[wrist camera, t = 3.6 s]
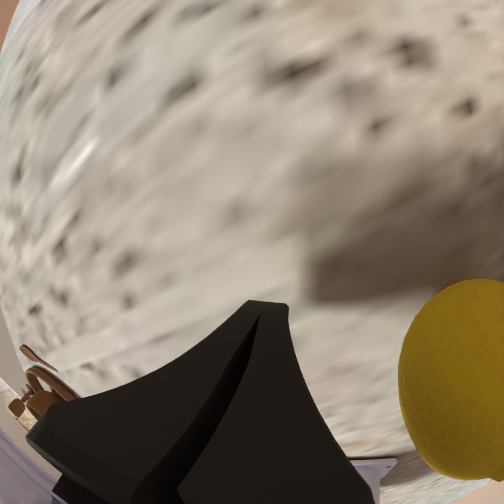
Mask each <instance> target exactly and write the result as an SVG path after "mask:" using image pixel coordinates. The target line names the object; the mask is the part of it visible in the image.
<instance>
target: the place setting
mask: <svg viewBox="0 0 504 504" xmlns="http://www.w3.org/2000/svg"><path fill="white" fill-rule="evenodd" d="M19 349H20V351H21V352H22V353H23V354H24V355H25V356H27V357H28V358H29V359H30V360H32V361H35V362H40V363H41V364H43V365H45V366H47V367H49V368H50V369H52V370H54V371H56V372H58V371H57V369H55V368H54V367H52V366H51V365H49V364H47V363H45V362H44V361H42V360H40V359H39V358H38V357H37V356H36V355H35V354H34V353H33V352H32V351H31V350H30V349H29V348H28V347H25V346H20V348H19ZM25 375H26V378H27V380H28V382H29V384H30V386H31V387H32V388H31V387H30V386H29V385H28V384H26V387H27V388H28V393H25V394H24V397H23V398H21V400H22V401H21V400H20V399H14V400H13V401H12V402H11V403H10V404H9V406H8V408H9V409H10V410H11V411H12V412H13V413H14V414H15V416H17V417H18V418H19V417H20V416H21V415H22V413H23V412H24V410H25V405H24V403H25V402H26V400H28V399H29V398H30V395H33V396H32V397H31V398H30V399H29V400H28V401H27V403H26V407H27V408H28V410H29V411H30V412H31V414H32V415H33V416H34V417H35V418H36V419H37V420H39V419H40V417H41V416H42V415H43V414H44V412H45V411H46V410H47V409H48V408H49V406H50V405H51V404H55V403H61V402H66V401H71V400H76V399H78V398H77V397H75V396H74V395H73V394H72V393H71V392H70V391H69V390H68V389H67V388H66V387H65V386H63V385H62V384H61V383H60V382H59V381H57V380H56V379H55V378H54V377H52V376H51V375H50V374H48V373H47V372H45V371H44V370H42V369H40V368H37V367H32V368H29V369H28V370H27V371H26V372H25ZM36 376H37V377H39V378H40V379H42V380H43V381H44V382H46V383H47V384H48V385H49V386H50V387H52V388H53V389H54V390H55V391H56V392H55V391H53V392H48V391H45V390H43V388H42V387H41V385H40V383H39V382H38V380H37V377H36ZM33 390H34V391H33ZM23 402H24V403H23Z"/></svg>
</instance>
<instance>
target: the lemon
mask: <svg viewBox="0 0 504 504" xmlns="http://www.w3.org/2000/svg"><path fill="white" fill-rule="evenodd" d="M398 387H399V401H400V407H401V412H402V416H403V419H404V422H405V425H406V427H407V430H408V433H409V435H410V437H411V439H412V441H413V443H414V445H415V447H416V448H417V450H418V452H419V454H420V456H421V457H422V458H423V460H424V461H425V462H426V464H427V465H429V466H430V467H431V468H432V469H433V470H435V471H437V472H438V473H440V474H442V475H445V476H448V477H451V478H454V479H459V480H478V479H485V478H491V479H493V480H496V481H498V482H500V481H503V480H504V283H502V282H500V281H496V280H490V279H484V278H475V279H469V280H463V281H460V282H457V283H455V284H453V285H450V286H448V287H446V288H445V289H443V290H442V291H440V292H439V293H437V294H435V295H434V296H433V297H432V298H431V299H430V300H429V301H428V302H427V303H426V304H425V305H424V306H423V308H422V309H421V310H420V312H419V313H418V314H417V316H416V317H415V318H414V320H413V322H412V324H411V326H410V328H409V330H408V332H407V334H406V336H405V338H404V342H403V346H402V350H401V354H400V358H399V365H398Z"/></svg>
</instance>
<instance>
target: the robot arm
mask: <svg viewBox="0 0 504 504" xmlns="http://www.w3.org/2000/svg"><path fill="white" fill-rule="evenodd" d="M288 314H289V307H288V305H287V304H285V303H274V302H264V301H254V300H248V301H247V302H245V303H244V304H243V305H242V306H241V307H240V308H239V309H238V310H237V311H236V312H235V313H234V314H233V315H231V316H230V317H229V318H228V319H227V320H226V321H225V322H224V323H223V324H221V325H220V326H219V327H218V328H217V329H216V330H214V331H213V332H212V333H211V334H210V335H208V336H207V337H206V338H205V339H203V340H202V341H201V342H199V343H198V344H197V345H195V346H194V347H193V348H191V349H190V350H188V351H187V352H186V353H184V354H183V355H181V356H180V357H178V358H176V359H175V360H173V361H172V362H170V363H168V364H166V365H165V366H163V367H161V368H159V369H157V370H156V371H153V372H151V373H149V374H147V375H145V376H143V377H141V378H139V379H136V380H134V381H132V382H130V383H127V384H125V385H122V386H120V387H117V388H114V389H111V390H108V391H105V392H102V393H99V394H96V395H92V396H89V397H85V398H80V399H76V400H71V401H66V402H61V403H55V404H51V405H50V406H49V408H48V409H47V410H46V411H45V412H44V414H43V415H42V416H41V417H40V419H39V420H38V421H37V422H36V424H35V425H34V426H33V427H32V429H31V430H30V431H29V432H28V434H27V435H26V441H27V442H28V444H30V446H31V447H32V448H33V449H35V450H36V451H37V452H38V453H39V454H40V455H41V456H42V457H43V458H44V459H46V460H47V461H48V462H49V463H50V464H51V465H53V466H54V467H55V468H56V469H57V470H59V471H60V472H61V473H62V476H61V477H60V479H59V480H58V479H57V478H55V477H54V476H53V475H51V474H50V473H49V472H48V471H46V470H45V469H44V468H43V467H42V466H40V465H39V464H38V463H37V462H36V461H34V460H33V459H32V458H31V457H30V456H29V455H28V454H27V453H25V452H24V451H23V450H22V449H21V448H20V447H19V446H18V445H17V444H16V443H15V442H14V440H13V439H12V438H11V437H10V436H9V435H8V434H7V433H6V432H5V431H4V430H3V429H2V428H1V427H0V504H380V480H381V479H382V478H383V477H384V476H385V475H386V474H387V473H388V472H389V471H390V470H391V469H392V468H393V467H394V466H395V465H396V464H397V459H396V458H389V459H375V460H349V459H348V458H347V456H346V455H345V453H344V452H343V450H342V449H341V447H340V446H339V444H338V443H337V442H336V440H335V438H334V437H333V435H332V433H331V432H330V430H329V428H328V426H327V425H326V423H325V421H324V419H323V418H322V416H321V414H320V413H319V411H318V409H317V407H316V405H315V403H314V400H313V398H312V396H311V394H310V392H309V390H308V387H307V385H306V383H305V380H304V378H303V375H302V372H301V370H300V367H299V364H298V361H297V358H296V354H295V351H294V347H293V343H292V339H291V335H290V330H289V323H288Z"/></svg>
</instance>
